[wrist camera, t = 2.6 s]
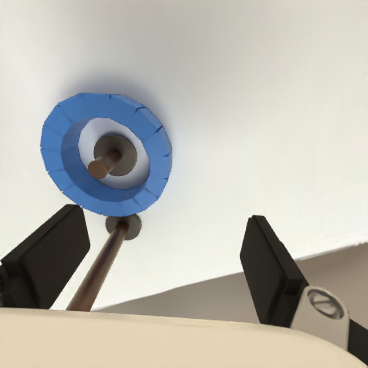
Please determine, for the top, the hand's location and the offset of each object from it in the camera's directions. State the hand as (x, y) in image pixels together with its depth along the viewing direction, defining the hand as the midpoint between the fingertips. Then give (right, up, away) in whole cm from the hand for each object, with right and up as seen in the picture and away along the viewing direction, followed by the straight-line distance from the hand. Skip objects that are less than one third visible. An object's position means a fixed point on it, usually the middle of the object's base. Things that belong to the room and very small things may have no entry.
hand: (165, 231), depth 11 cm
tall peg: (-7, -3, +16) cm, 18 cm away
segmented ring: (-7, +6, +11) cm, 15 cm away
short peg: (-7, +6, +11) cm, 15 cm away
